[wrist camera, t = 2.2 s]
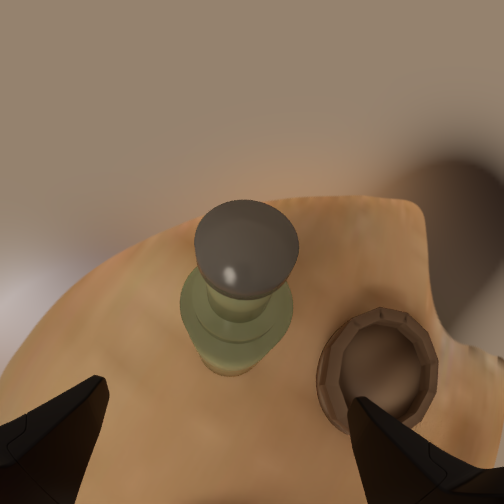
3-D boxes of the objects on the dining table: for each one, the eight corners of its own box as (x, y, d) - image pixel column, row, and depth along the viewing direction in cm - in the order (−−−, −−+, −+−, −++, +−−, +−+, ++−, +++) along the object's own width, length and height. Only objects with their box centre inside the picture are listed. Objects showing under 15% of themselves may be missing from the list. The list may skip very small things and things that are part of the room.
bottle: (273, 345, 20) (362, 243, 8) (230, 389, 18) (252, 371, 6) (229, 304, 22) (244, 156, 9) (185, 345, 20) (124, 237, 7)
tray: (438, 361, 20) (453, 356, 19) (381, 459, 16) (395, 462, 14) (363, 292, 23) (374, 282, 22) (287, 389, 19) (295, 388, 17)
